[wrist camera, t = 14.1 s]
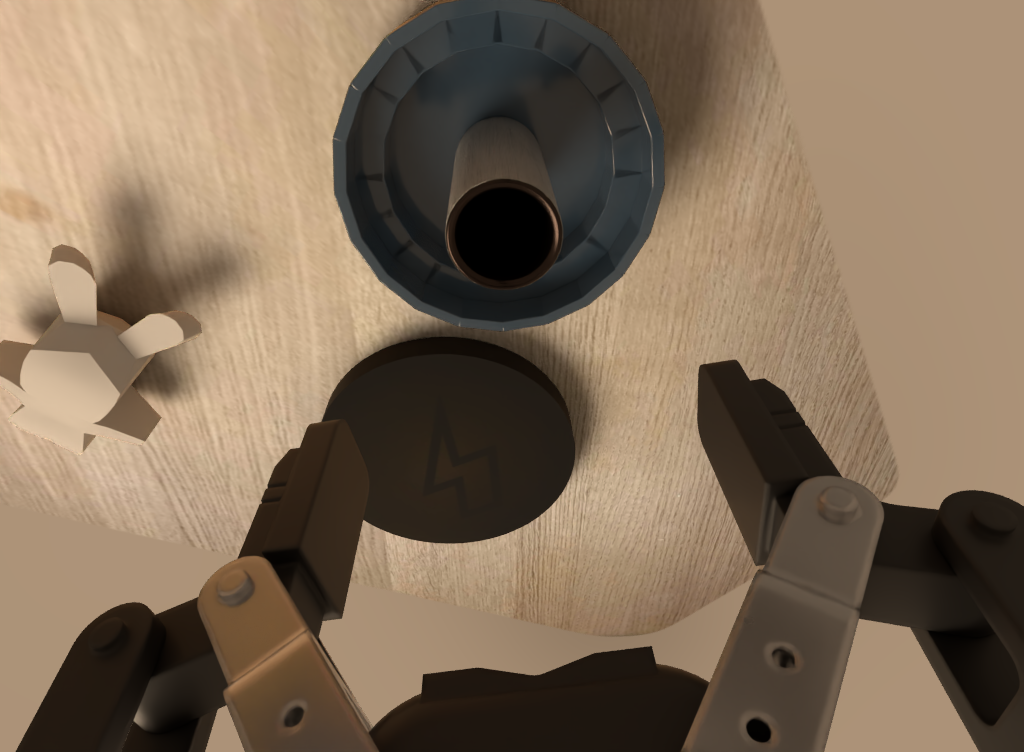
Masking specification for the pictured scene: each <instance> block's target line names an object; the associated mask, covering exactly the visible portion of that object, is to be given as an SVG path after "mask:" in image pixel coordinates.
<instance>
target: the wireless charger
mask: <svg viewBox="0 0 1024 752" xmlns="http://www.w3.org/2000/svg"><path fill="white" fill-rule="evenodd" d="M339 419H344V420H345V421H346V422H347V424H348V425H349V428H350V430H351V432H352V435H353V437H354V439H355V441H356V444H357V446H358V448H359V451H360V453H361V455H362V458H363V460H364V462H365V465H366V467H367V471H368V476H369V494H368V499H367V503H366V508H365V513H364V517H363V520H365V521H366V522H368V523H370V524H372V525H373V526H375V527H377V528H380V529H382V530H384V531H386V532H389V533H392V534H395V535H398V536H401V537H404V538H408V539H413V540H418V541H424V542H432V543H467V542H475V541H481V540H486V539H490V538H494V537H498V536H501V535H504V534H507V533H509V532H512V531H514V530H516V529H518V528H521V527H522V526H524V525H526V524H528V523H530V522H531V521H533V520H534V519H536V518H537V517H539V516H540V515H541V514H542V513H544V512H545V511H546V510H547V509H548V508H549V507H550V506H551V505H552V504H553V503H554V502H555V501H556V500H557V499H558V497H559V496H560V495H561V493H562V492H563V490H564V488H565V487H566V485H567V483H568V481H569V479H570V476H571V473H572V470H573V466H574V460H575V442H574V437H573V431H572V426H571V421H570V416H569V412H568V409H567V406H566V404H565V402H564V400H563V398H562V396H561V394H560V392H559V391H558V389H557V388H556V387H555V385H554V384H553V383H552V381H551V380H550V379H549V378H548V377H547V376H546V375H545V374H544V373H543V372H542V371H541V370H539V369H538V368H537V367H536V366H534V365H533V364H532V363H530V362H529V361H527V360H526V359H524V358H523V357H521V356H519V355H517V354H515V353H513V352H511V351H509V350H507V349H504V348H502V347H499V346H496V345H493V344H490V343H486V342H482V341H478V340H473V339H466V338H457V337H431V338H422V339H416V340H411V341H406V342H403V343H399V344H396V345H393V346H390V347H388V348H385V349H383V350H380V351H378V352H376V353H375V354H373V355H371V356H369V357H368V358H366V359H364V360H363V361H361V362H360V363H359V364H357V365H356V366H355V367H354V368H353V369H351V370H350V371H349V372H348V373H347V374H346V375H345V376H344V378H343V379H342V380H341V381H340V383H339V384H338V385H337V387H336V388H335V390H334V392H333V393H332V395H331V397H330V400H329V402H328V405H327V408H326V411H325V413H324V416H323V419H322V422H326V421H332V420H339Z"/></svg>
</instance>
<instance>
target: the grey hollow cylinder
mask: <svg viewBox="0 0 1024 752" xmlns="http://www.w3.org/2000/svg"><path fill="white" fill-rule="evenodd" d="M445 240H446V246H447V250H448V253H449V255H450V258H451V260H452V261H453V263H454V265H455V266H456V267H457V269H458V270H459V271H460V272H461V273H462V274H463V275H464V276H465V277H467V278H468V279H469V280H471V281H472V282H474V283H476V284H478V285H480V286H483V287H486V288H490V289H495V290H513V289H518V288H522V287H524V286H527V285H529V284H531V283H533V282H535V281H537V280H538V279H540V278H541V277H542V276H543V275H544V274H546V273H547V272H548V270H549V269H550V268H551V267H552V266H553V264H554V263H555V261H556V259H557V257H558V255H559V253H560V250H561V246H562V241H563V226H562V221H561V216H560V213H559V210H558V206H557V203H556V199H555V196H554V193H553V189H552V186H551V183H550V179H549V176H548V173H547V169H546V166H545V162H544V159H543V156H542V152H541V149H540V146H539V144H538V142H537V140H536V138H535V137H534V135H533V134H532V133H531V131H530V130H529V129H528V128H527V127H526V126H524V125H523V124H522V123H520V122H518V121H516V120H514V119H511V118H507V117H490V118H486V119H483V120H481V121H479V122H477V123H475V124H474V125H473V126H471V127H470V128H469V129H468V130H467V131H466V133H465V134H464V135H463V137H462V138H461V140H460V142H459V145H458V148H457V151H456V155H455V162H454V169H453V176H452V183H451V191H450V198H449V205H448V212H447V219H446V227H445Z"/></svg>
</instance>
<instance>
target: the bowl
mask: <svg viewBox="0 0 1024 752" xmlns="http://www.w3.org/2000/svg"><path fill="white" fill-rule="evenodd" d="M490 117H507V118H511V119H514V120H516V121H518V122H520V123H522V124H523V125H524V126H526V127H527V128H528V129H529V130H530V131H531V133H532V134H533V135H534V137H535V138H536V140H537V142H538V144H539V146H540V149H541V152H542V156H543V159H544V162H545V166H546V169H547V173H548V176H549V179H550V183H551V186H552V189H553V193H554V196H555V199H556V203H557V206H558V210H559V213H560V216H561V221H562V226H563V241H562V246H561V250H560V253H559V255H558V257H557V259H556V261H555V263H554V264H553V266H552V267H551V268H550V269H549V270H548V272H547V273H546V274H544V275H543V276H542V277H541V278H540V279H538V280H537V281H535V282H533V283H531V284H529V285H527V286H524V287H522V288H518V289H513V290H495V289H490V288H486V287H483V286H480V285H478V284H476V283H474V282H472V281H471V280H469V279H468V278H467V277H465V276H464V275H463V274H462V273H461V272H460V271H459V270H458V269H457V267H456V266H455V265H454V263H453V261H452V260H451V258H450V255H449V253H448V250H447V246H446V240H445V227H446V219H447V212H448V205H449V198H450V191H451V183H452V176H453V169H454V162H455V155H456V151H457V148H458V145H459V142H460V140H461V138H462V137H463V135H464V134H465V133H466V131H467V130H468V129H469V128H470V127H471V126H473V125H474V124H475V123H477V122H479V121H481V120H483V119H486V118H490ZM663 132H664V131H663V128H662V126H661V123H660V120H659V117H658V114H657V111H656V108H655V105H654V102H653V100H652V97H651V94H650V91H649V88H648V85H647V82H646V81H645V78H644V77H643V76H642V75H641V73H640V72H639V71H638V70H637V68H636V67H635V66H634V65H633V63H632V62H631V61H630V60H629V58H628V57H627V56H626V55H625V53H624V52H623V51H622V49H621V48H620V47H619V46H618V44H617V43H616V42H615V41H614V39H613V38H612V37H611V36H610V35H609V34H608V33H607V32H605V31H603V30H602V29H600V28H599V27H597V26H595V25H594V24H592V23H591V22H589V21H587V20H586V19H584V18H582V17H581V16H579V15H577V14H576V13H574V12H572V11H571V10H569V9H567V8H566V7H564V6H563V5H561V4H559V3H558V2H556V1H554V0H438V1H437V2H435V3H434V4H432V5H431V6H429V7H427V8H426V9H424V10H423V11H421V12H420V13H418V14H416V15H415V16H413V17H412V18H410V19H409V20H407V21H405V22H404V23H402V24H401V25H399V26H398V27H397V28H396V29H394V30H393V31H392V32H391V33H389V34H388V35H387V36H386V37H385V38H384V39H383V41H382V42H381V43H380V44H379V46H378V47H377V48H376V50H375V51H374V52H373V54H372V55H371V56H370V58H369V59H368V60H367V62H366V63H365V64H364V66H363V67H362V68H361V70H360V71H359V72H358V74H357V75H356V76H355V78H354V79H353V80H352V82H351V84H350V85H349V88H348V91H347V94H346V97H345V101H344V104H343V107H342V110H341V113H340V116H339V120H338V123H337V126H336V129H335V132H334V136H333V177H334V195H335V198H336V201H337V203H338V206H339V209H340V212H341V215H342V218H343V221H344V224H345V227H346V230H347V233H348V235H349V238H350V241H351V242H352V244H353V245H354V247H355V248H356V249H357V251H358V252H359V254H360V255H361V256H362V258H363V259H364V260H365V262H366V263H367V265H368V266H369V267H370V269H371V270H372V271H373V273H374V274H375V276H376V277H377V278H378V280H380V282H381V283H382V284H384V285H385V286H386V287H388V288H389V289H390V290H392V291H393V292H394V293H395V294H397V295H398V296H399V297H401V298H402V299H403V300H404V301H406V302H407V303H408V304H410V305H411V306H412V307H413V308H415V309H417V310H419V311H421V312H424V313H426V314H429V315H431V316H434V317H436V318H438V319H441V320H443V321H446V322H448V323H451V324H453V325H456V326H459V327H466V328H475V329H485V330H494V331H509V330H515V329H521V328H528V327H534V326H540V325H546V324H549V323H551V322H553V321H556V320H558V319H560V318H562V317H564V316H566V315H569V314H571V313H573V312H575V311H577V310H579V309H582V308H584V307H586V306H588V305H589V304H591V303H592V302H593V301H594V300H595V299H597V298H598V297H599V296H600V295H601V294H602V293H604V292H605V291H606V290H607V289H608V288H609V287H611V286H612V285H613V284H614V283H615V282H616V281H618V280H619V279H620V278H621V277H622V276H623V275H624V274H625V272H626V271H627V269H628V268H629V266H630V265H631V263H632V262H633V260H634V259H635V257H636V256H637V254H638V252H639V251H640V249H641V248H642V246H643V245H644V243H645V242H646V240H647V239H648V237H649V234H651V230H652V227H653V224H654V220H655V217H656V214H657V210H658V207H659V204H660V200H661V197H662V194H663V190H664V186H665V165H664V133H663Z"/></svg>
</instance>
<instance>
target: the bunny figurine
mask: <svg viewBox="0 0 1024 752" xmlns="http://www.w3.org/2000/svg"><path fill="white" fill-rule="evenodd" d="M49 277H50V280H51V284H52V287H53V290H54V293H55V296H56V299H57V302H58V305H59V308H60V311H61V313H60V315H59V316H58V317H57V318H56V319H55V321H54V322H53V323H52V324H51V325H50V327H49V328H48V329H47V330H46V332H45V333H44V334H43V335H42V336H41V338H40V339H39V340H38V341H37V343H36V344H35V345H31V344H25V343H19V342H13V341H7V340H3V341H2V342H1V343H0V387H2V388H3V389H4V390H6V391H7V392H9V393H10V394H11V395H13V396H14V397H15V398H16V399H17V400H18V401H19V402H21V403H22V405H21V406H20V407H19V408H18V409H17V410H16V411H15V412H14V413H13V414H12V415H11V416H10V417H9V418H8V421H9V422H10V423H12V424H14V425H16V427H17V428H19V429H21V430H24V431H26V432H28V433H30V434H33V435H35V436H37V437H39V438H42V439H44V438H46V439H48V440H50V441H53V443H54V444H55V445H58V446H60V447H62V448H64V449H67V450H69V451H71V452H73V453H76V454H78V455H80V454H81V453H83V452H84V450H85V449H86V448H87V446H88V445H89V444H90V443H91V441H92V440H93V439H94V438H95V436H96V435H97V436H102V437H106V438H111V439H115V440H119V441H123V442H127V443H132V444H136V445H140V446H141V445H142V444H143V443H144V442H145V441H146V439H147V438H148V436H149V435H150V433H151V432H152V431H153V429H154V428H155V426H156V425H157V423H158V422H159V420H160V419H161V418H162V417H161V416H160V415H159V414H158V413H157V412H156V411H155V410H154V409H153V408H152V407H151V406H150V405H149V404H148V403H147V402H146V400H145V399H144V398H143V397H142V396H141V395H140V394H139V393H138V392H137V391H136V390H135V388H134V387H133V386H132V385H131V384H132V383H133V382H134V380H135V379H136V378H137V377H138V375H139V374H140V373H141V372H142V370H143V369H144V368H145V367H146V365H147V364H148V363H149V362H150V360H151V359H152V358H153V357H154V355H155V353H156V352H159V351H162V350H165V349H168V348H171V347H174V346H177V345H179V344H182V343H185V342H188V341H191V340H193V339H196V338H197V337H198V336H199V335H200V334H201V333H202V330H201V324H200V323H199V322H198V321H197V320H196V319H195V318H194V317H193V316H192V315H190V314H188V313H185V312H182V311H177V310H174V311H169V312H165V313H157V314H150V315H148V316H147V317H145V318H144V319H142V320H141V321H139V322H138V323H136V324H135V325H133V326H130V325H129V324H128V323H127V322H125V321H124V320H123V319H121V318H118V317H115V316H112V315H109V314H106V313H103V312H101V311H98V310H97V307H96V282H95V278H94V273H93V270H92V267H91V264H90V261H89V260H88V259H87V258H86V257H85V256H84V255H83V254H82V253H81V252H80V251H78V250H77V249H75V248H73V247H70V246H66V245H62V244H61V245H59V246H57V247H55V248H53V250H52V254H51V258H50V262H49Z"/></svg>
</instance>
